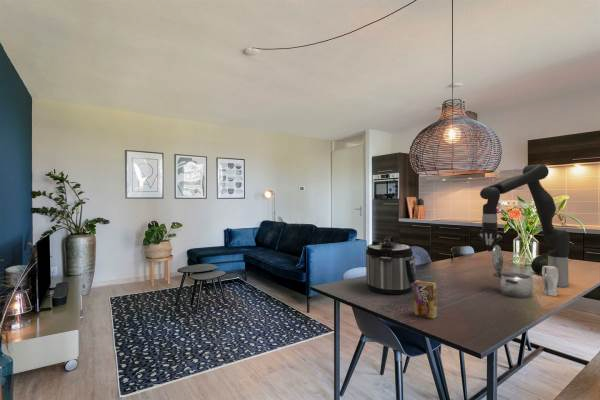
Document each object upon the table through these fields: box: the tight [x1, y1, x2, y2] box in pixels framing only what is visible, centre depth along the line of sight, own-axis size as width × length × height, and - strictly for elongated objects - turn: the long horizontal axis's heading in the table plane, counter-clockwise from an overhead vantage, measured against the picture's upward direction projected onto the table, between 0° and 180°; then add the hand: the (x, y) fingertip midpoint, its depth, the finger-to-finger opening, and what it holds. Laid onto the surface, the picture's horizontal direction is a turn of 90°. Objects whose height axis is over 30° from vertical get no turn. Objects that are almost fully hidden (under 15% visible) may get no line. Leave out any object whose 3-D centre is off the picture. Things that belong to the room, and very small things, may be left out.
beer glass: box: [541, 266, 559, 297], centre depth 167 cm, size 7×7×15 cm
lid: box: [491, 244, 504, 274], centre depth 175 cm, size 15×16×2 cm
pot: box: [493, 271, 533, 299], centre depth 170 cm, size 19×17×10 cm
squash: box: [530, 253, 548, 276], centre depth 209 cm, size 14×15×15 cm
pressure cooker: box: [365, 235, 417, 295], centre depth 183 cm, size 30×28×32 cm
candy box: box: [413, 279, 438, 319], centre depth 140 cm, size 9×4×15 cm, turn 47°
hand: (489, 251), depth 178 cm, fingers closed
